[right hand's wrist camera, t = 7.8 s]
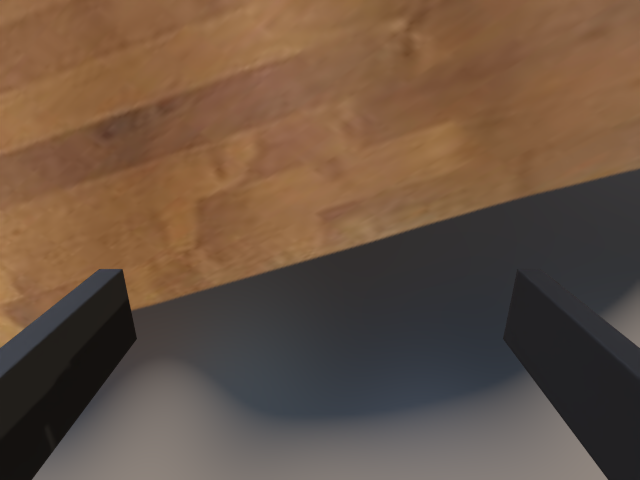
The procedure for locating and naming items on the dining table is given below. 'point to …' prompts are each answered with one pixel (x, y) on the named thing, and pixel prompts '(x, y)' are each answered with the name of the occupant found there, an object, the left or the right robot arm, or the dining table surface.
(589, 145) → the dining table surface
